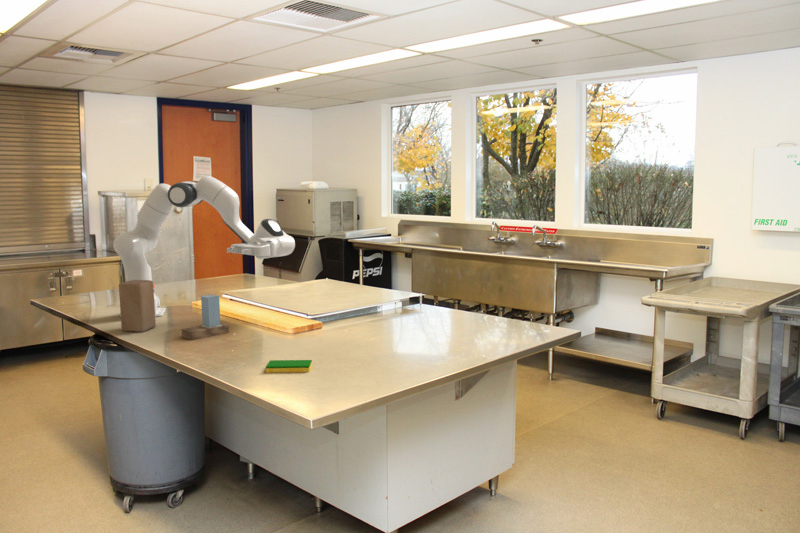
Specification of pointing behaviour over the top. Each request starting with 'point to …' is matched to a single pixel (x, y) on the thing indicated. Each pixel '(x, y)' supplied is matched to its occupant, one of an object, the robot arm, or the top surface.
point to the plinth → (203, 331)
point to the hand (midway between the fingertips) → (234, 251)
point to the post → (210, 310)
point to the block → (137, 305)
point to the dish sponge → (289, 366)
